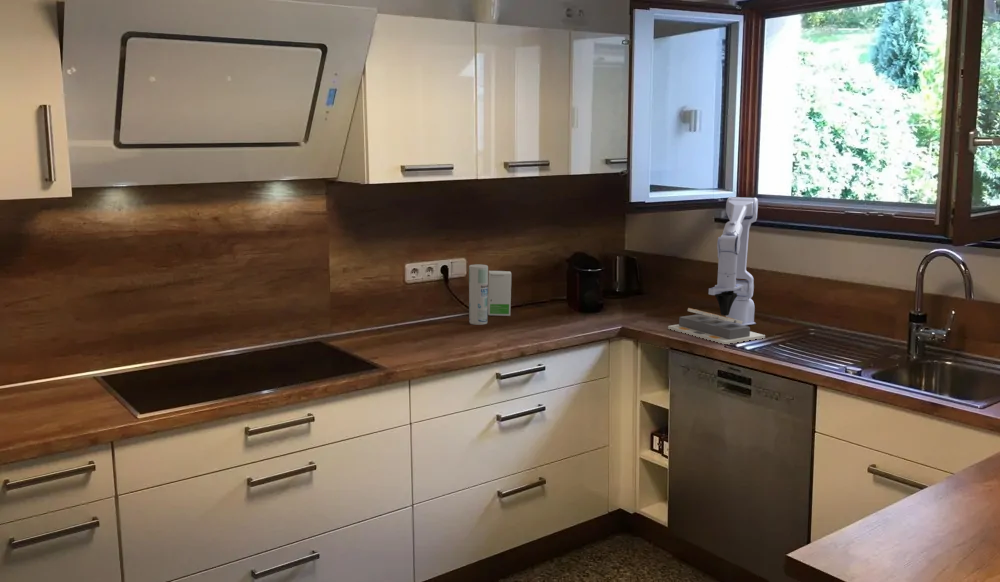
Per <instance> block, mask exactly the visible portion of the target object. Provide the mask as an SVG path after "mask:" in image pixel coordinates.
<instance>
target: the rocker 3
mask: <svg viewBox="0 0 1000 582" xmlns="http://www.w3.org/2000/svg"><path fill="white" fill-rule="evenodd" d="M718 315H719V314H718ZM718 319H720V320H724V321H729V322H733V323H739V324H742V322H743V321H740V320H736V319H732V318H728V317H726V316H725V315H721V314H720V315H719V317H718Z"/></svg>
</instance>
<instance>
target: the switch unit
mask: <svg viewBox="0 0 1000 582" xmlns="http://www.w3.org/2000/svg"><path fill="white" fill-rule="evenodd" d="M667 328H668V330H670V329H671V330H670V331H674V330H675V332H679V333H681V332H682V333H681V334H685V333H686V334H685V335H688V334H689V336H692V335H693V337H695V336H696V338H699V337H700V338H699V339H702V338H704V339H703V340H706V339H707V341H709V340H711V341H710V342H713V341H715V342H714V343H716V342H718V343H717V344H720V343H722V344H721V345H724V344H728V345H731V344H730V343H733V344H738V343H737V342H739V343H744V342H743V341H745V342H750V341H749V340H751V341H756V340H755V339H757V340H763V339H766V335H765V334H762V333H757V332H754V331H751V327H750V326H749V325H745V326H744V325H740V324H736V323H732V322H728V321H725V320H721V319H717V318H713V317H709V316H705V315H701V314H697V313H696V314H692V315H691V314H690V315H685V316H679V319H678V324H673V325H667ZM762 338H763V339H762Z"/></svg>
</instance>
